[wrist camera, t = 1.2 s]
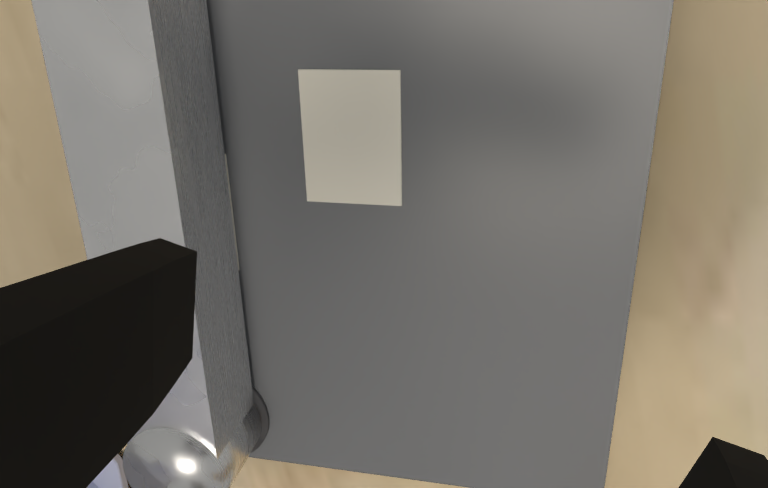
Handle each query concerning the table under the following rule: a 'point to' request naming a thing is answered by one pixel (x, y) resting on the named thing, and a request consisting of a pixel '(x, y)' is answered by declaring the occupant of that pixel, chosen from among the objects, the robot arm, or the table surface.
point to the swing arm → (159, 206)
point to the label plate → (438, 227)
